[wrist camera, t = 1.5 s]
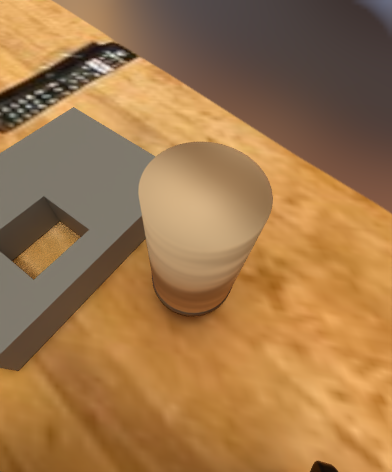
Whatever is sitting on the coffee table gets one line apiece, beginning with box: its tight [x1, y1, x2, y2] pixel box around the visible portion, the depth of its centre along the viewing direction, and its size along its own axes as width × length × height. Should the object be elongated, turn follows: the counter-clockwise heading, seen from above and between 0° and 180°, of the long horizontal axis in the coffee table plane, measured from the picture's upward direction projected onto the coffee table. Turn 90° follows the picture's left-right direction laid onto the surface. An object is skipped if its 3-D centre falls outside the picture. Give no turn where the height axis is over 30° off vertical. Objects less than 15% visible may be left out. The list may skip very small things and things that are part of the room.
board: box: [0, 107, 155, 371], centre depth 23 cm, size 18×13×4 cm
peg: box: [138, 142, 273, 316], centre depth 17 cm, size 6×6×12 cm
